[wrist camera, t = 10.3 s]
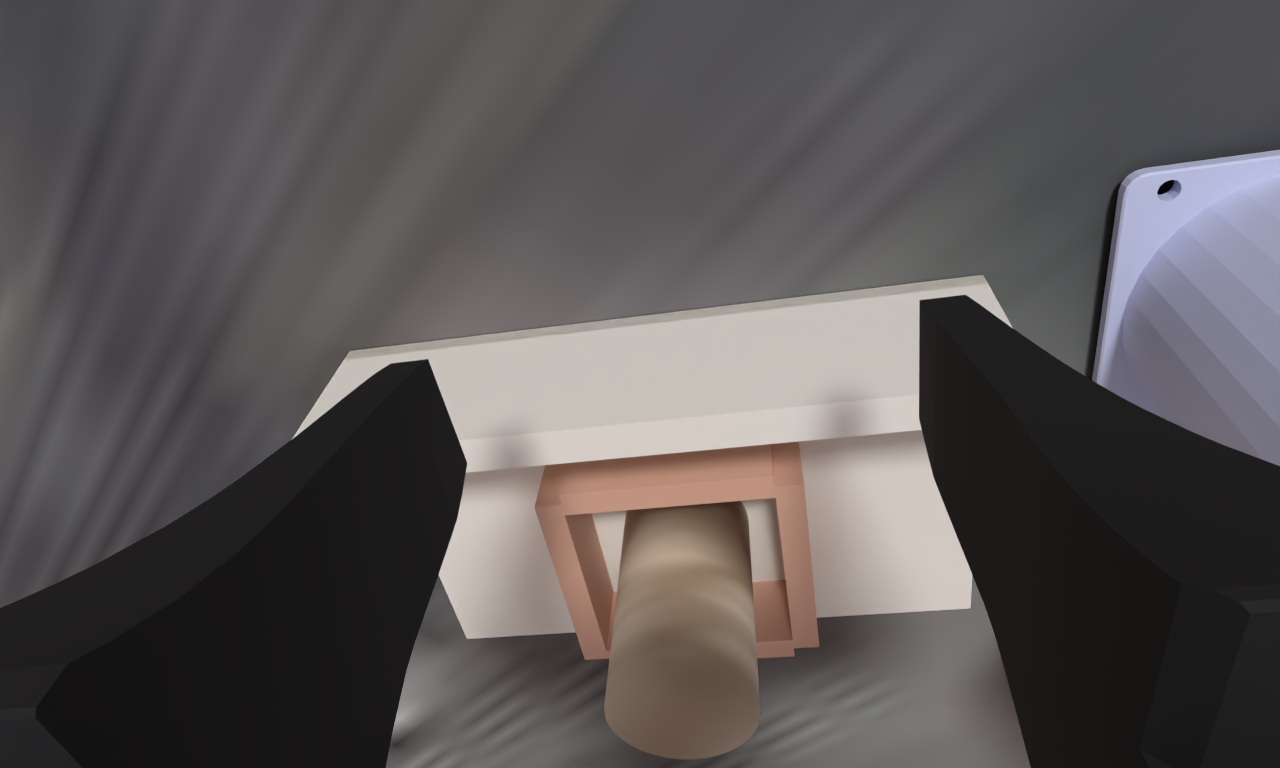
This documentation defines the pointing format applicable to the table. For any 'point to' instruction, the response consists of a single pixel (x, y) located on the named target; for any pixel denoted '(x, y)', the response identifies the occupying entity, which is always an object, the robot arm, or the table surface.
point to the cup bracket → (695, 458)
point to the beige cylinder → (684, 633)
